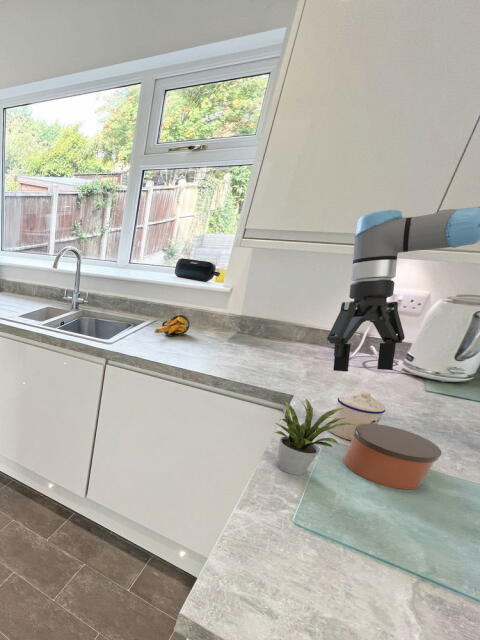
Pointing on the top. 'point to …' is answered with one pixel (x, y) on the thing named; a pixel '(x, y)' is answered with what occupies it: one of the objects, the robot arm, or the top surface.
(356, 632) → the top surface
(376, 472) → the storage jar
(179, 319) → the fried shrimp in bowl
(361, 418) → the teacup with lid
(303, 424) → the house plant
